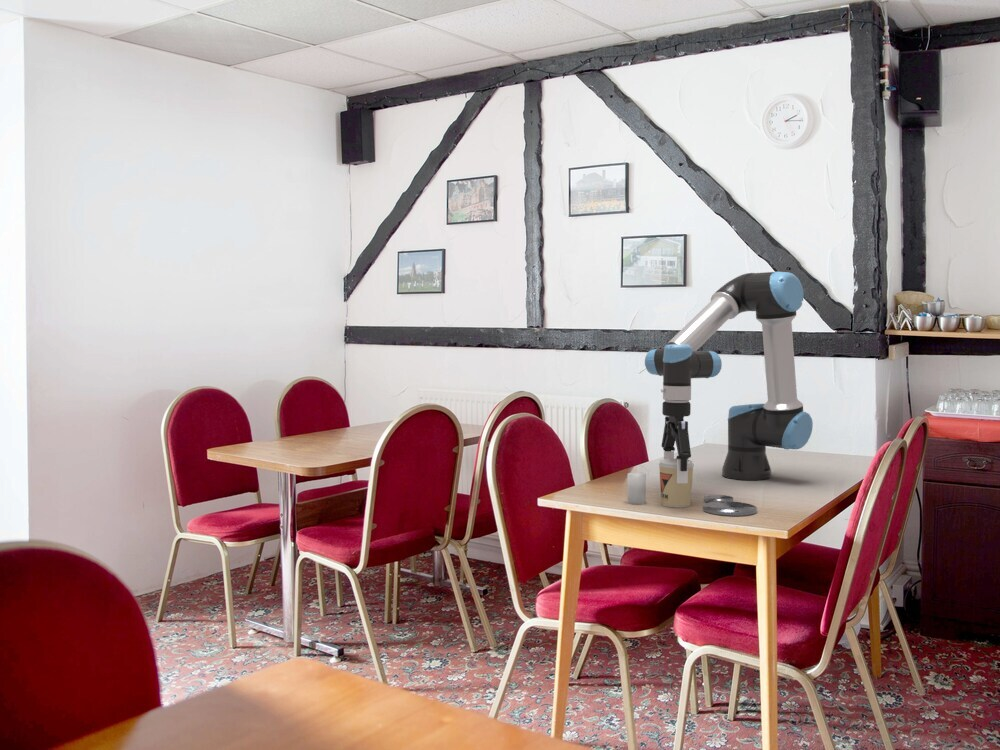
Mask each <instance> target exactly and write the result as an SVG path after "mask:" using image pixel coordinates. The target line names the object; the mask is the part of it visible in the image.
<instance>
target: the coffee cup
mask: <svg viewBox="0 0 1000 750" xmlns="http://www.w3.org/2000/svg"><path fill="white" fill-rule="evenodd" d="M658 467H659V482H660V483H659V485H660V499H661V505H662V506H664V507H667V508H677V509H678V508H679V509H680V508H688V507H690V506H691V501H692V500H691V499H692V497H691V496H692V487H693V474H694V473H693V471H694V463H693V460H690V459H688V483H677V459H676V458H674V459H664V458H663V459H661V460H659V463H658Z"/></svg>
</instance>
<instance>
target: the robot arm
mask: <svg viewBox="0 0 1000 750" xmlns="http://www.w3.org/2000/svg"><path fill="white" fill-rule="evenodd" d="M804 297H805V296H804V288H803V285H802V283H801V281H800V279H799V278H798V277H797V276H796V275H795V274H794V273H792V272H788V271H786V272H785V271H770V272H769V271H767V272H749V273H748V272H747V273H744V274H740V275H738V276H736V277H734V278H732V279H730V280H728V282H726V283H725V284H724V285H722V286H720V288H719V289H718V290H716V291H715V292H714V293H713V294H712V295H711V297H710V301H709V302H708V304H707V305H705V306H704V307H703V308H702V309H701V310H700V311H699V312H698V313H697V314H696V315H695V316H694V317H693V318H692V319H691V320H690V321H689V322H688V323H687V324H686V325H685V326H684V327H683V328H682V329H681V330H679V331H678V332H677V333H676V334H675V335H674V336H673V338H671V339H670V340H669V341H668V342H667V343H666V344H665V345H664V346H663V347H662V348H660V349H659V348H656V349H651V350H649V351H647V353H646V355H645V358H644V366H645V369H646V371H647V372H648V373H649V374H650V375H655V376H660V377H662V379H663V381H662V386H663V387H662V389H660V392H661V393H662V400H664V401H663V402H662V408H661V409H662V410H661V411H662V415H663V416H665V417H664V427H663V435H662V440H661V445H660V446H661V448H662V450H663V459H677V483H688V460H690V458H691V457H692V452H691V444H690V438H689V437H690V436H689V422H688V421H685V419H684V418H685V417H689V416H691V408H692V407H691V404H692V403H691V402H690V401H691V400H692V379H709V378H715V377H716V376H718V375H719V373H720V372H721V371H722V367H723V365H722V358H721V356H720V355H719V354H718V353H717V352H715V351H713V350H699V349H700V348H701V347H702V346H703V345H704V344H705V343H706V342H707V341H708V340H709V339H710V338H711V337H712V336H713V335H714V334H715V333H716V332H717V331H718V330H719V329H720V328H721V327H722V326H723V325H724V324H725V323H726V322H727V321H728V320H732V319H735V318H736V317H737V316H738V315H739V314H741V313H745V312H755V319H756V320H757V321H758V322H759V323H760V324H761V327H762V329H761V330H762V339H763V340H762V341H763V353H764V354H763V355H764V356H763V357H764V366H765V367H764V368H765V369H764V370H765V379H766V392H767V393H766V395H767V401H766V402H765V403H751V404H739V405H733V406H731V407H730V408H729V409H728V417H727V453H726V456H725V460H724V461H723V465H722V468H721V476H723V477H725V478H727V479H732V480H733V479H734V480H739V481H741V480H742V481H761V480H768V479H771V478H772V469H771V465H770V462H769V459H768V456H767V453H766V450H767V449H766V448H767V447H770V448H776V449H784V450H800V449H802V448H803V447H805V446H806V444H808V442H809V440H810V438H811V435H812V432H813V426H814V425H813V423H814V422H813V419H812V416H811V415H810V413H808V412H806V411H804V404H803V402H801V401H800V400H799V399H798V393H797V380H796V365H795V363H796V362H795V353H794V351H795V350H794V338H793V336H794V335H793V323H792V321H793V320H794V319H795V318H796V317H797V311H799V310H800V309H801V308H802V306H803V301H804ZM675 445H676V447H675ZM676 450H677V455H676V458H675V451H676Z"/></svg>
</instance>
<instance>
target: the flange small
mask: <svg viewBox="0 0 1000 750" xmlns="http://www.w3.org/2000/svg"><path fill="white" fill-rule="evenodd" d="M718 501H730V502H734V497H732V496H730V495H726V494H707V495H704V496H703V502H704V503H709V502H718Z"/></svg>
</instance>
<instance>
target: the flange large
mask: <svg viewBox="0 0 1000 750" xmlns="http://www.w3.org/2000/svg"><path fill="white" fill-rule="evenodd" d="M702 511H703V512H704V513H707V514H710V515H713V516H721V517H746V516H747V517H748V516H752V515H755V514H757V512H758V508H757V506H756V505H754V504H751V503H746V502H741V501H733V502H730V501H718V502H709V503H707V502H704V504H702Z"/></svg>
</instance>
